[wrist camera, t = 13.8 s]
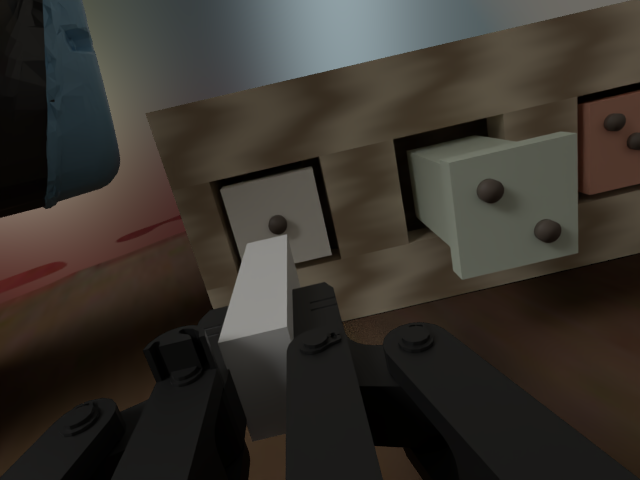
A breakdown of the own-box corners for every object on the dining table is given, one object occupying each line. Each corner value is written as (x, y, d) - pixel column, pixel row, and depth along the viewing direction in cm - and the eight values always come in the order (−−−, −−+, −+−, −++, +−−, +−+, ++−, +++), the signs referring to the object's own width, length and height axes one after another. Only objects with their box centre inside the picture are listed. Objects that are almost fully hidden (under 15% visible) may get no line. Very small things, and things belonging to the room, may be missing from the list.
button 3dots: (594, 196, 22) (595, 104, 21) (515, 173, 30) (511, 104, 29) (682, 176, 22) (689, 82, 21) (579, 157, 30) (579, 88, 29)
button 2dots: (466, 283, 17) (453, 164, 15) (408, 226, 25) (396, 144, 23) (584, 256, 17) (584, 133, 15) (489, 207, 25) (482, 124, 23)
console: (226, 348, 25) (145, 113, 20) (244, 278, 35) (193, 111, 30) (707, 237, 25) (733, -24, 20) (586, 199, 34) (586, 19, 30)
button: (245, 277, 23) (218, 191, 21) (256, 232, 30) (238, 168, 29) (332, 257, 23) (312, 169, 21) (321, 218, 30) (306, 152, 29)
